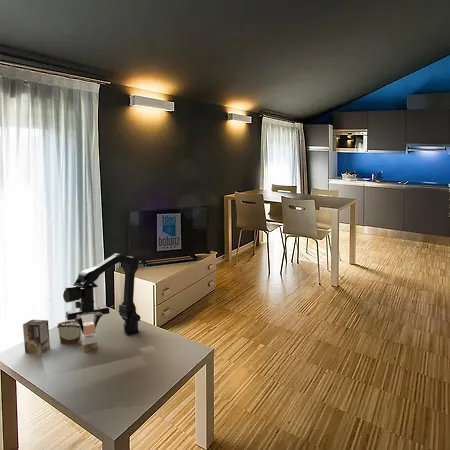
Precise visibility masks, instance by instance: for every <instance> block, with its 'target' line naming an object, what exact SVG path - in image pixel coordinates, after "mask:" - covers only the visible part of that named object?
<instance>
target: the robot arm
mask: <svg viewBox="0 0 450 450" xmlns="http://www.w3.org/2000/svg"><path fill="white" fill-rule="evenodd" d="M139 263H140V260H139V259H138V257H136V256H130V255H123V254H121V253H112V255H111V256H110V257H107V258H106V259H104V260H102V261H101V262H99V263H98V264H96V265H95V266H93V267H90V268H86V269H83V270H82V271H80V272H79V273H78V274H77V278H76V280H75V281H74V283H73V284H72V285H73V286H66V287H65V289H64V290H63V294H62V296H63V297H62V298H63V300H64V302H65V303H66V304H67V303H72V302H74V306H75V307H74V308H75V309H79V311H76V310H75V309H74V310H69V311H66V312H65V318H66V320H67V321H78V323H79V325H80V328H81V333H82V332H83V323H84V322H83V318H82V316H87V315H93V322H94V324H95V329H96V328H97V325H98V323H99V321H100V319H101V318H102V317H103V316H104V315H109V314H110V308H109V307H108V306H107V305H100V306H98V308H95V297H94V295H95V294H94V288H98V284H96V283H95V282H96V281H97V280H98V278H99V277H100V276H101V274H103V273H105V272H107V271H108V270H110V269H111V268H113V267H114V266H115V265H117V264H121V265H122V270H123V272H124V285H123V287H124V289H123V302H122V303H121V304H119V305H118V313H119V316H120V317H121V319H122V320H123V321H124V323H123V332H124V333H125V334H126V335H132V334H136V333H140V330H139V321H140V320H141V316H140V315H139V314H138V313H137V307H136V305H135V303H134V293H135V274H136V272H137V270H138V268H139Z"/></svg>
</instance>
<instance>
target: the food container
mask: <svg viewBox="0 0 450 450" xmlns="http://www.w3.org/2000/svg"><path fill="white" fill-rule="evenodd" d="M57 329H58V334H59V335H58V336H59V342H60V344H66V345H77V346H78V345H81V338H82V335H81V333H82V330H81V328H80V325H79V323H78V321H75V320H67V321H66V320H65V321H62V322H59V323H57Z"/></svg>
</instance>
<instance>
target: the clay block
mask: <svg viewBox="0 0 450 450" xmlns="http://www.w3.org/2000/svg"><path fill="white" fill-rule="evenodd" d="M81 333H82V335H84V336H85V335H90V334H95V335H96V328H95V324H94V320H93V321H92V320H91V321H86V322H83V332H82V331H81Z"/></svg>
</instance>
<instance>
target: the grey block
mask: <svg viewBox="0 0 450 450" xmlns="http://www.w3.org/2000/svg"><path fill="white" fill-rule="evenodd" d="M97 340H98V339H97V334H96V333H95V334H90V335H85V336H84V335H83V334H82V335H81V341H82V342H83V343H84V345H86V344H91V343H96V342H97V343H98V341H97Z"/></svg>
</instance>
